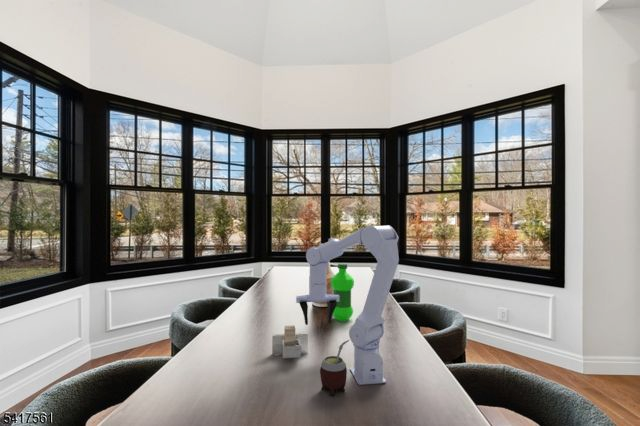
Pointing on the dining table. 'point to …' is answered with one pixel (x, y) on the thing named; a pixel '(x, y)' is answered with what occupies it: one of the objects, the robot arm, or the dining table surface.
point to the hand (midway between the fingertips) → (317, 323)
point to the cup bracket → (292, 350)
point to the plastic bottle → (342, 293)
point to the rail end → (289, 335)
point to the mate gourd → (334, 373)
